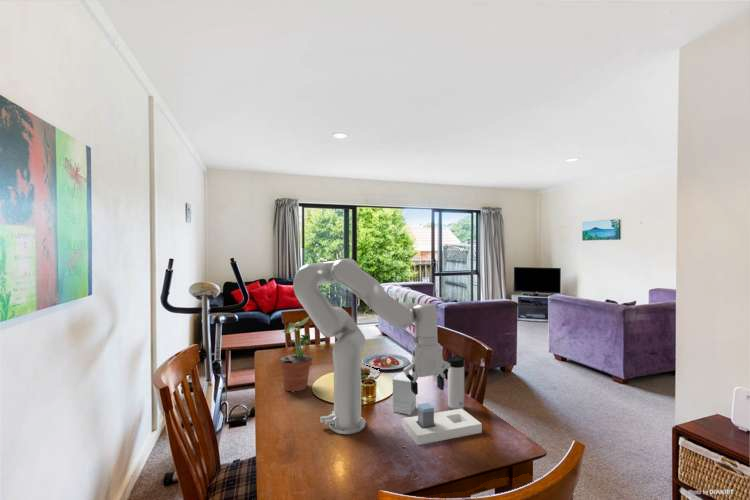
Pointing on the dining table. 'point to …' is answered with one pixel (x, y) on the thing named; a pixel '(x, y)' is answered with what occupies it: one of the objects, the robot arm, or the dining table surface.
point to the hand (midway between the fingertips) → (427, 390)
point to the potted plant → (296, 362)
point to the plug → (425, 415)
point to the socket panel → (442, 426)
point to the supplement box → (403, 395)
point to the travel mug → (456, 382)
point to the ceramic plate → (386, 361)
